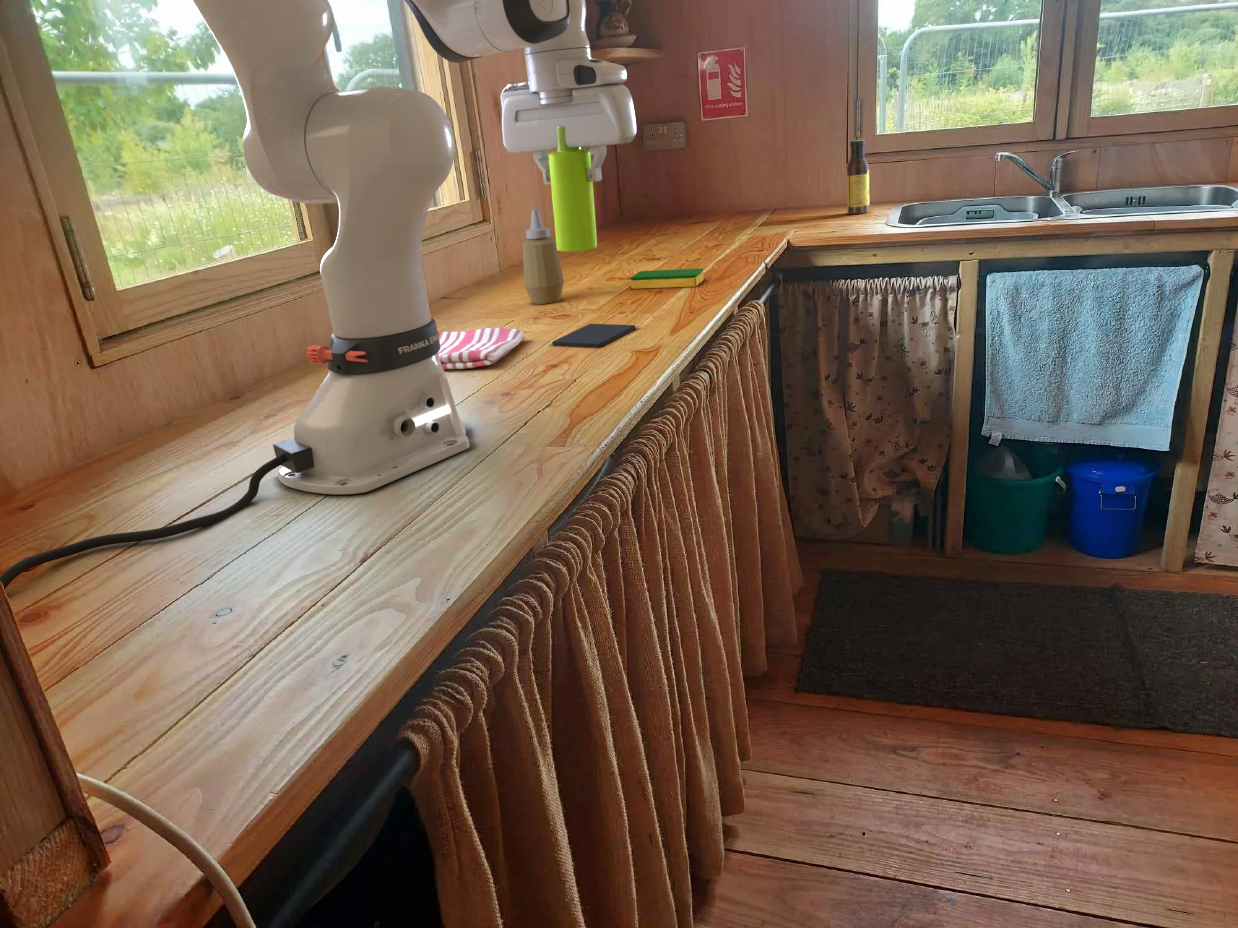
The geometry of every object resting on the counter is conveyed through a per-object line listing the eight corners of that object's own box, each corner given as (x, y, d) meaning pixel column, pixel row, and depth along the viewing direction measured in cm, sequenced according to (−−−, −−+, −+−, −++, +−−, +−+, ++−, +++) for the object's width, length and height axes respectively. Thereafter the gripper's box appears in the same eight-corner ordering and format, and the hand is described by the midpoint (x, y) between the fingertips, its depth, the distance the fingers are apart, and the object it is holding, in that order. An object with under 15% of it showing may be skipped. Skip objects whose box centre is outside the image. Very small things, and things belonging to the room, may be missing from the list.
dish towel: (398, 347, 152) (395, 327, 151) (527, 340, 147) (524, 320, 146) (355, 376, 136) (350, 354, 135) (497, 369, 132) (494, 347, 131)
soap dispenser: (599, 251, 123) (588, 98, 115) (552, 252, 124) (538, 101, 116) (608, 243, 128) (598, 96, 120) (562, 244, 130) (550, 99, 121)
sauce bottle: (873, 212, 251) (874, 139, 244) (856, 215, 249) (856, 141, 241) (859, 211, 257) (860, 139, 249) (842, 213, 254) (842, 141, 247)
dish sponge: (640, 282, 186) (639, 270, 185) (704, 279, 182) (703, 268, 181) (630, 289, 180) (629, 277, 179) (696, 287, 175) (695, 275, 175)
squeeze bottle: (574, 297, 178) (563, 206, 171) (550, 306, 172) (538, 212, 165) (542, 296, 182) (531, 207, 175) (518, 305, 176) (505, 213, 169)
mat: (599, 347, 138) (598, 343, 138) (552, 345, 143) (551, 341, 142) (635, 328, 148) (635, 325, 147) (590, 327, 152) (590, 323, 152)
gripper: (485, 85, 120) (501, 189, 126) (612, 68, 110) (623, 182, 115) (512, 83, 125) (526, 183, 130) (636, 66, 115) (646, 176, 120)
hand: (573, 182), depth 123 cm, fingers closed on soap dispenser, 6 cm apart
